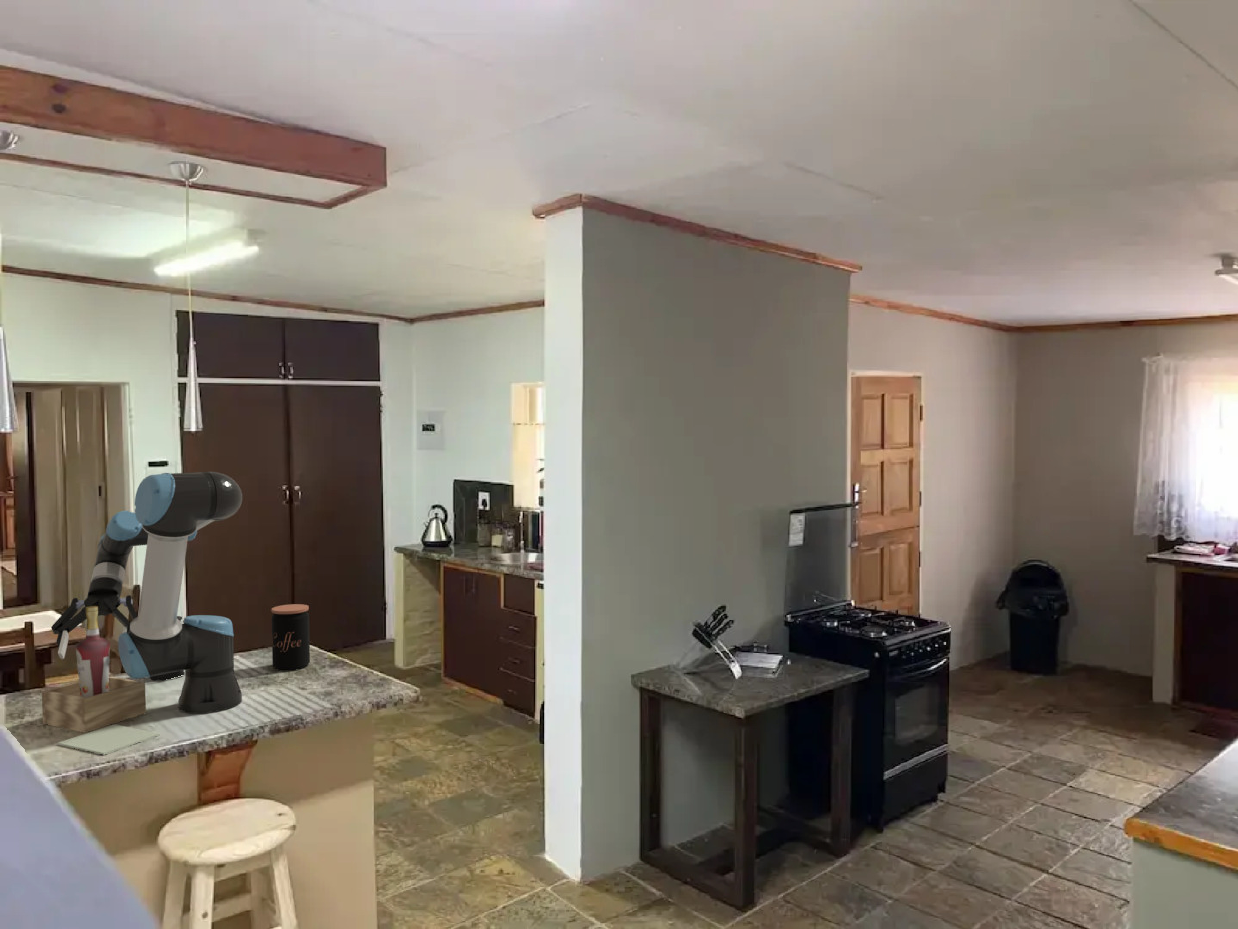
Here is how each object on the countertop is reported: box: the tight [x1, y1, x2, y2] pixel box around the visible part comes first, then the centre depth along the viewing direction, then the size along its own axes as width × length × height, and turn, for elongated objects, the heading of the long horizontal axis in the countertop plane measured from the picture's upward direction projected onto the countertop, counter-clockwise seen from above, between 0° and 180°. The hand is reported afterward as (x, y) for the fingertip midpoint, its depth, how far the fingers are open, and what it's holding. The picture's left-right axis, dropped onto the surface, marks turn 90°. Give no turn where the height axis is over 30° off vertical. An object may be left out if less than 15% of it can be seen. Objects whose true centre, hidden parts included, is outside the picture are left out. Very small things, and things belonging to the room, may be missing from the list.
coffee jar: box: [271, 603, 311, 671], centre depth 275 cm, size 11×11×18 cm
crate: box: [41, 675, 147, 734], centre depth 227 cm, size 16×16×8 cm
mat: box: [57, 723, 161, 756], centre depth 211 cm, size 16×14×1 cm
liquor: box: [75, 606, 111, 698], centre depth 226 cm, size 7×7×28 cm
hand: (91, 654), depth 226 cm, fingers open, 13 cm apart
